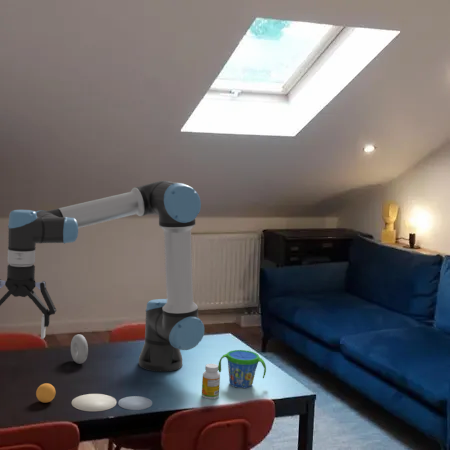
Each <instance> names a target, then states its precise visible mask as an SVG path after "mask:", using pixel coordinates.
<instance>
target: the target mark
mask: <svg viewBox="0 0 450 450" xmlns="http://www.w3.org/2000/svg"><path fill="white" fill-rule="evenodd" d="M117 404H118V401H117V399H116V398H115V397H114V396H111V395H107V394H103V393H88V394H83V395H82V394H80V395H79V396H76V397H74V398H73V399H72V401H71V406H72V407H73V408H74V409H77V410H79V411H82V412H83V411H84V412H103V411H107V410H110V409H113V408H114V407H115V406H116V405H117Z"/></svg>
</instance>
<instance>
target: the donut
mask: <svg viewBox="0 0 450 450" xmlns="http://www.w3.org/2000/svg"><path fill="white" fill-rule="evenodd" d="M88 346H89V345H88V341H87V339H86V337H85V336H84V335H83V334H81V333H80V334H75V335H74V336H73V337H72V339H71V343H70V354H71V357H72V359H73V361H74V362H75V363H76V364H80V365H81V364H83V363H85V362H86V360H87V358H88V355H89V347H88Z"/></svg>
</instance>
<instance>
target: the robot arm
mask: <svg viewBox="0 0 450 450" xmlns="http://www.w3.org/2000/svg"><path fill="white" fill-rule="evenodd" d="M201 207H202V202H201V197H200V195H199V193H198V192H197V190H195V189H194V188H193V187H192V186H190V185H188V184H185V183H184V182H183V183H182V182H174V181H170V180H158V181H155V182H150V183H147V184H145V185H140V186H137V187H132V189H131V190H130V191H128V192H124V193H120V194H115V195H110V196H107V197H103V198H102V197H101V198H99V199H98V198H97V199H93V200H89V201H85V202H80V203H75V204H71V205H68V206H63V207H59V208H55V209H49V210H43V209H41V210H37V211H35V210H31V209H14V210H11V211H10V212H9V216H8V226H7V227H8V231H7V232H8V238H7V239H8V241H7V243H8V244H7V245H8V247H7V266H6V267H7V268H6V269H7V270H6V271H7V273H6V280H2V279H0V289H1V288H3V287H4V286H5V287H6V288H7V290H8V291H7V292H6V293H5V294H4V295H3V296H2V297H1V298H0V307H1V306H3V304H4V303H5V302H6V301H7V299H9V298H10V296H13V297H14V298H17V297H21V298H26V297H28V298H29V299H30V300H31V301H32V302H33V304H35V306H36V307H37V308H38V309H39V311H40V312H41V313H42V315H41V320H40V321H41V327H40V329H41V330H40V339H41V340H43V339H45V337H46V328H48V327H49V326H50V317H51V316H52V315H55V314H56V312H57V308H56V306H55V304H54V302H53V300H52V298H51V296H50V293H49V292H48V290H47V283H46V281H45V280H42V281H37V282H36V279H35V277H36V276H35V275H36V274H35V272H36V269H35V268H36V266H35V265H34V264H35V263H36V244H63V245H64V244H67V243H74V242H76V241H77V239H78V236H79V229H81V228H84V227H89V226H94V225H97V224H101V223H106V222H110V221H114V220H117V219H121V218H127V217H129V216H134V215H137V216H138V217H143V216H149V215H150V216H151V215H154V216H158V225H159V226H158V227H159V228H161V230H162V231H163V235H164V237H163V238H164V258H165V259H164V261H165V263H164V265H165V288H166V291H165V292H166V298H158V299H151V300H149V301H148V302H147V303H146V307H145V326H144V329H145V331H144V344H143V347H142V349H141V351H140V354H139V357H138V366H139V367H140V368H142V369H144V370H147V371H151V372H172V371H177V370H179V369H180V368H182V366H183V356H182V352H181V351H189V350H192V349H194V348H196V347H197V346H198V345H199V343H200V342H201V341H202V340H203V338H204V335H205V324H204V323H203V321H202V320H201V319H200V318H199V306H198V304H196V302H194V290H193V289H194V288H193V287H194V286H193V284H194V283H193V255H192V234H191V233H192V229H193V228H195V226H196V218H197V216H198V215H199V213H200V212H201ZM35 288H37V289H38V290H39V291H40V293H41V296H42V298H43V300H44V302H45V303H44V302H43V301H42V300H41V299H40V298H39V297H38V295H37V293H36V292H35V290H34V289H35ZM45 304H46V305H45Z"/></svg>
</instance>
